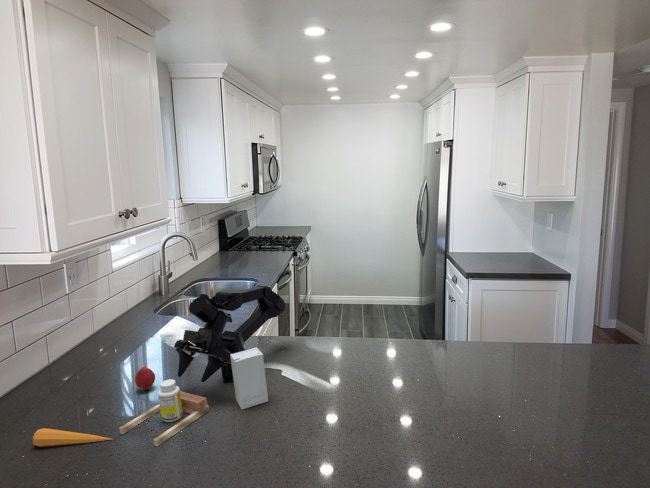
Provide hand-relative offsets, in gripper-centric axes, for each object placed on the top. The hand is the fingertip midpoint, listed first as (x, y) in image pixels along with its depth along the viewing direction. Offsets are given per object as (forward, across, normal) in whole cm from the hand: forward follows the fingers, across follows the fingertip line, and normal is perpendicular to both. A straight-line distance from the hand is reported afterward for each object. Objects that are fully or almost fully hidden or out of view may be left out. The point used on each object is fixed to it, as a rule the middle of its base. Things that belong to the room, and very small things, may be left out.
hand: (190, 379), depth 130 cm
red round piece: (+5, -21, +6) cm, 22 cm away
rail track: (+12, 0, -2) cm, 13 cm away
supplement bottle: (+11, 0, 0) cm, 11 cm away
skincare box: (0, +15, +11) cm, 19 cm away
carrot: (+25, -14, -14) cm, 31 cm away
